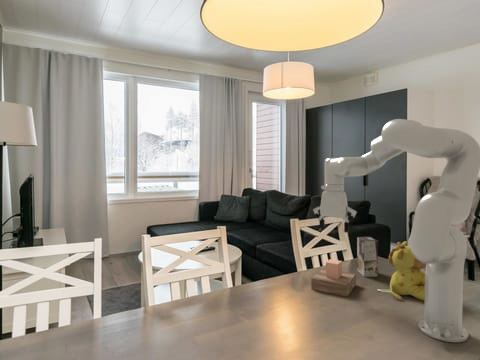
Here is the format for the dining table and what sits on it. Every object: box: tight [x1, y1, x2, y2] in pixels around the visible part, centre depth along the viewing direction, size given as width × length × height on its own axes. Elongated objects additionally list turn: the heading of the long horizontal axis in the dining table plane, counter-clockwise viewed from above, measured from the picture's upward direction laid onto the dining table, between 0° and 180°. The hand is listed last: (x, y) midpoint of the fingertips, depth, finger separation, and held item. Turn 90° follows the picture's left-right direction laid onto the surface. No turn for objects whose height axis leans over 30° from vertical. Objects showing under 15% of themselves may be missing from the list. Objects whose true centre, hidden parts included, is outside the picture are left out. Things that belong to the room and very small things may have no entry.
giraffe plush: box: [376, 240, 426, 302], centre depth 126 cm, size 20×24×19 cm
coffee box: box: [356, 236, 379, 278], centre depth 148 cm, size 9×6×16 cm
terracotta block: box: [325, 258, 343, 279], centre depth 132 cm, size 5×5×6 cm
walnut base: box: [310, 268, 357, 297], centre depth 132 cm, size 14×14×4 cm
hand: (334, 230), depth 131 cm, fingers open, 9 cm apart
